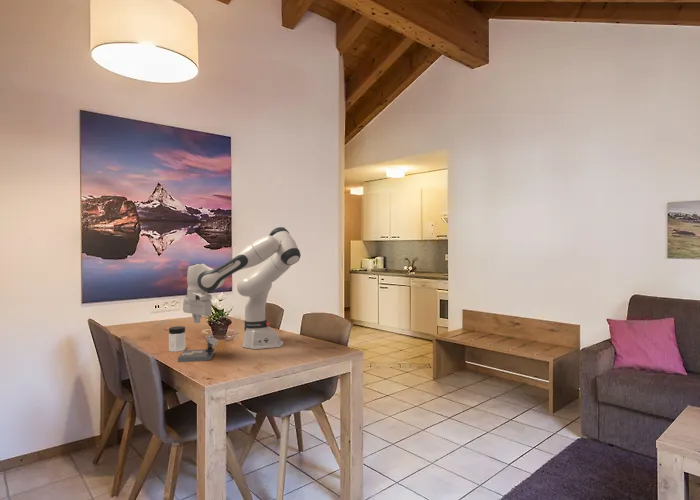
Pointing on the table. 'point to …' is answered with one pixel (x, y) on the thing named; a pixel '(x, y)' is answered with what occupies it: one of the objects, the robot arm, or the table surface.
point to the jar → (177, 339)
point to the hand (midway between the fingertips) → (197, 322)
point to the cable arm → (215, 342)
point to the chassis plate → (197, 354)
